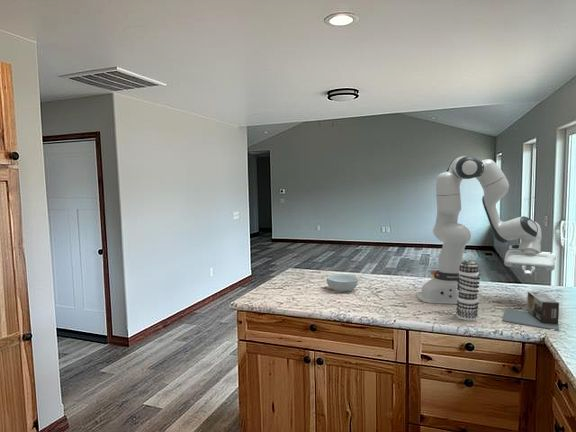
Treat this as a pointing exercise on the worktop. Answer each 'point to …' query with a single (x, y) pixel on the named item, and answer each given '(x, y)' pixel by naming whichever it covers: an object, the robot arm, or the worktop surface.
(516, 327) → the worktop surface
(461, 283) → the decorative candle
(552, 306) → the coffee box
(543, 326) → the rubber mat
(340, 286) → the cereal bowl
